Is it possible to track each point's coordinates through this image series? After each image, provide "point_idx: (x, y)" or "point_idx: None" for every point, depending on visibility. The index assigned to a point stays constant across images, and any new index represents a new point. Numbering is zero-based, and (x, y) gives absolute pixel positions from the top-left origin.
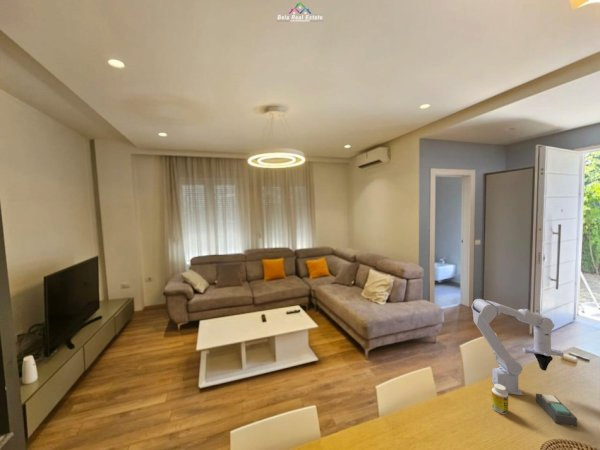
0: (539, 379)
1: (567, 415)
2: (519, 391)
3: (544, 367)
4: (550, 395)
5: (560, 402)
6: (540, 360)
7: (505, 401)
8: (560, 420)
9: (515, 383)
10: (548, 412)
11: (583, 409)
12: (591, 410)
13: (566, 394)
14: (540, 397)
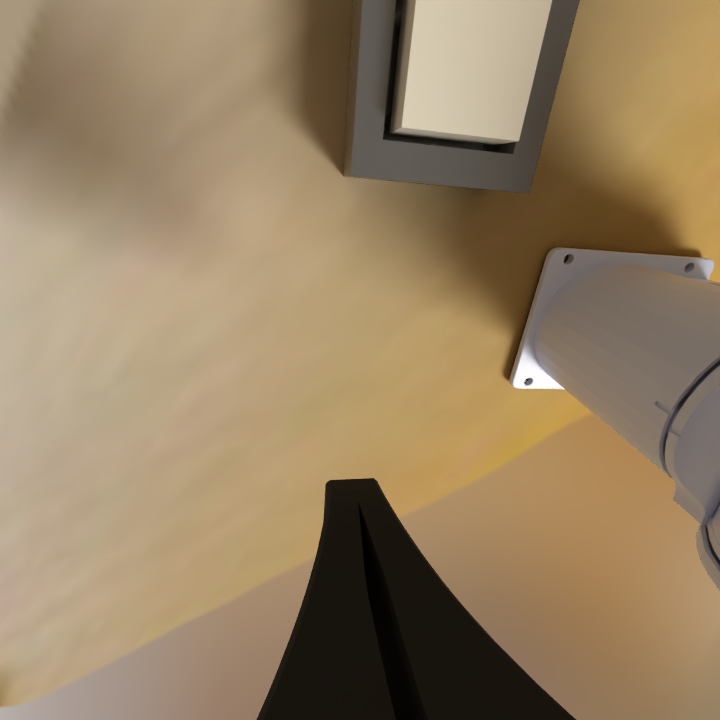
0: (267, 483)
1: None
2: (549, 289)
3: (369, 519)
4: (433, 127)
5: (371, 29)
6: (539, 686)
7: None
8: None
9: (675, 288)
10: None
11: (108, 121)
12: (29, 116)
13: (156, 340)
14: (540, 113)
